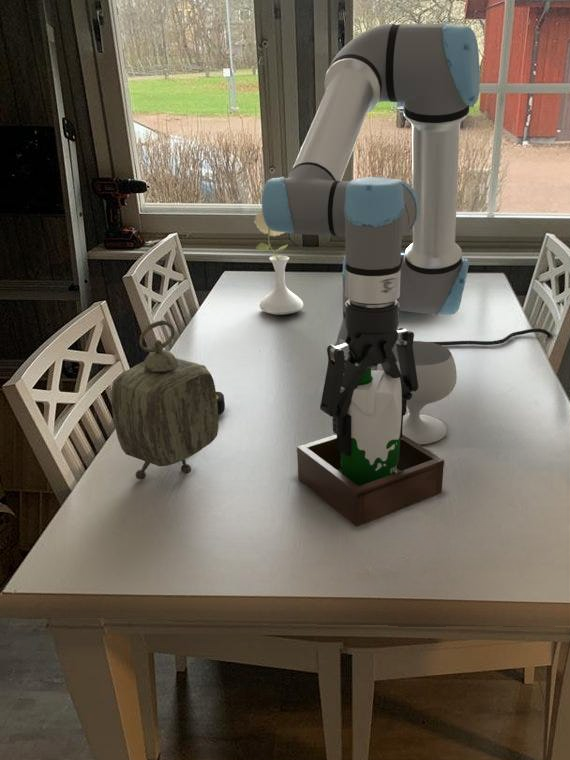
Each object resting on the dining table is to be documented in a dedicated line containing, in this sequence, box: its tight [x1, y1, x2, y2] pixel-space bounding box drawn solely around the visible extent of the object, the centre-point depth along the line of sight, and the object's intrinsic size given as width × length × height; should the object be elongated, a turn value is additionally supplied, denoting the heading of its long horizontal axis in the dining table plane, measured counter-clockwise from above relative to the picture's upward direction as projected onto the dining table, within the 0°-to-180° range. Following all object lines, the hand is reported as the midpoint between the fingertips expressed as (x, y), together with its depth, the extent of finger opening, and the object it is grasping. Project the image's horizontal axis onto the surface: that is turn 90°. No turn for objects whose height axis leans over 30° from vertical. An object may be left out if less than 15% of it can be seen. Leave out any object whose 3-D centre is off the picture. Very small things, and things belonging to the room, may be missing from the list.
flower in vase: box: [253, 211, 304, 316], centre depth 184 cm, size 13×11×25 cm
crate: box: [296, 434, 445, 528], centre depth 114 cm, size 16×16×6 cm
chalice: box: [376, 340, 458, 445], centre depth 129 cm, size 14×14×15 cm
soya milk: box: [340, 362, 402, 486], centre depth 111 cm, size 9×9×20 cm
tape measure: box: [216, 391, 226, 417], centre depth 137 cm, size 7×7×4 cm
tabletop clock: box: [110, 320, 219, 481], centre depth 113 cm, size 14×9×25 cm, turn 149°
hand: (369, 443), depth 112 cm, fingers closed on soya milk, 9 cm apart
